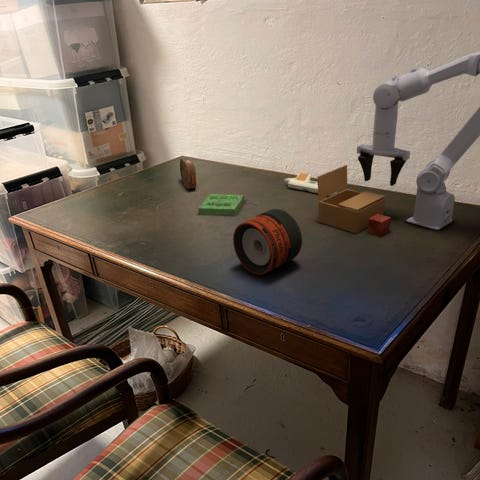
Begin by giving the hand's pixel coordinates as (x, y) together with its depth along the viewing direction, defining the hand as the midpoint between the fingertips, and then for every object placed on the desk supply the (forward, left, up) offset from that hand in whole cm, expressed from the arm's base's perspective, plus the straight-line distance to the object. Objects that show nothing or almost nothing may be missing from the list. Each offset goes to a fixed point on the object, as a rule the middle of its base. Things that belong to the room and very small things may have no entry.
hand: (379, 182), depth 141 cm
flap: (+10, +8, +1) cm, 13 cm away
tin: (+65, +17, -9) cm, 68 cm away
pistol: (+29, -7, -9) cm, 31 cm away
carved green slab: (+40, +24, -9) cm, 47 cm away
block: (-7, +10, -9) cm, 16 cm away
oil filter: (+2, +42, -9) cm, 43 cm away
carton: (+3, +8, -9) cm, 13 cm away
